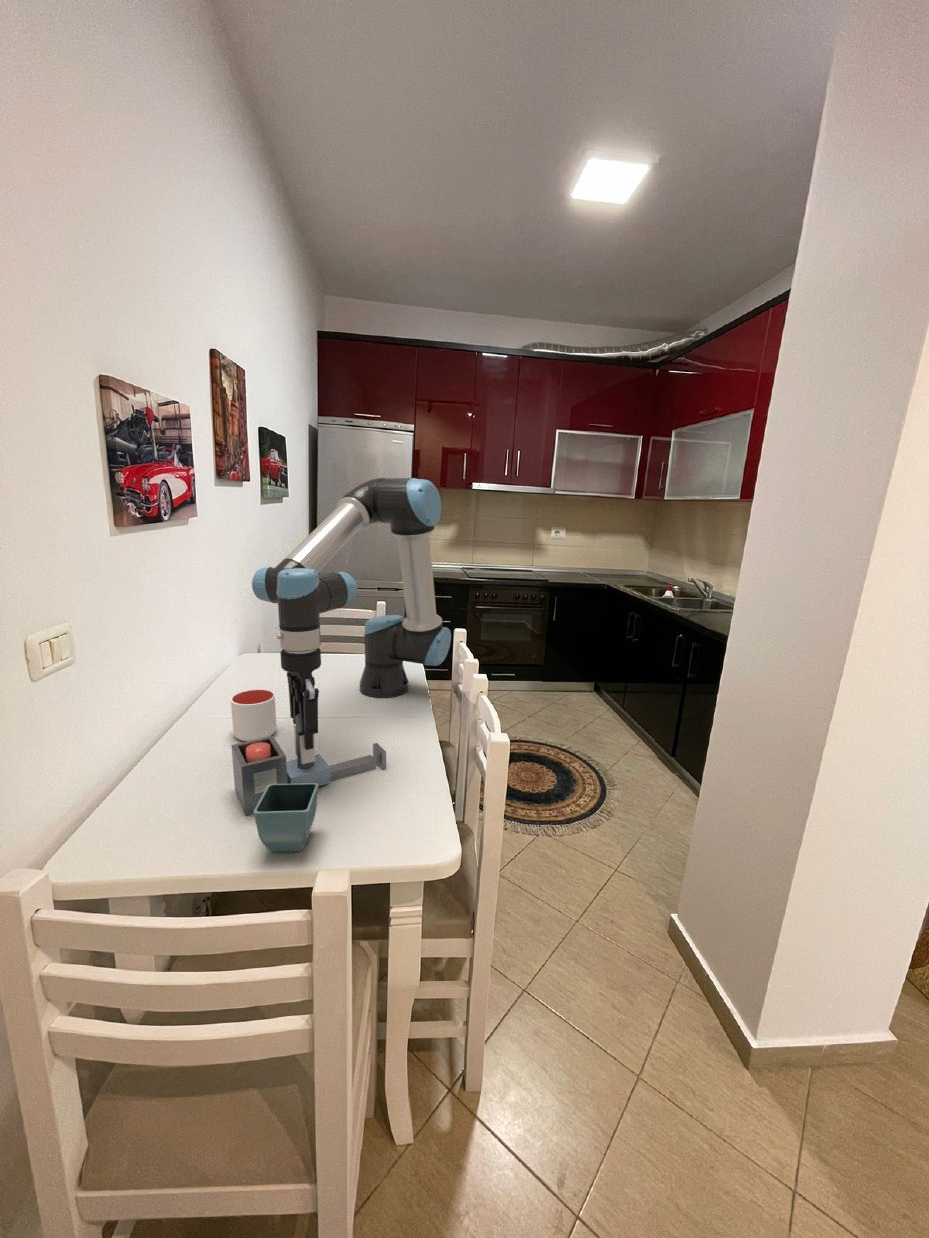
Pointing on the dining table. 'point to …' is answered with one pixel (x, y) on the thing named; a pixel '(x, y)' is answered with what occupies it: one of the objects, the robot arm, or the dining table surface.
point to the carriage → (307, 766)
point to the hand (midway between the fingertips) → (305, 757)
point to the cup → (253, 714)
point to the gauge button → (257, 752)
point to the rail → (359, 764)
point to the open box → (257, 772)
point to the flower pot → (286, 815)
